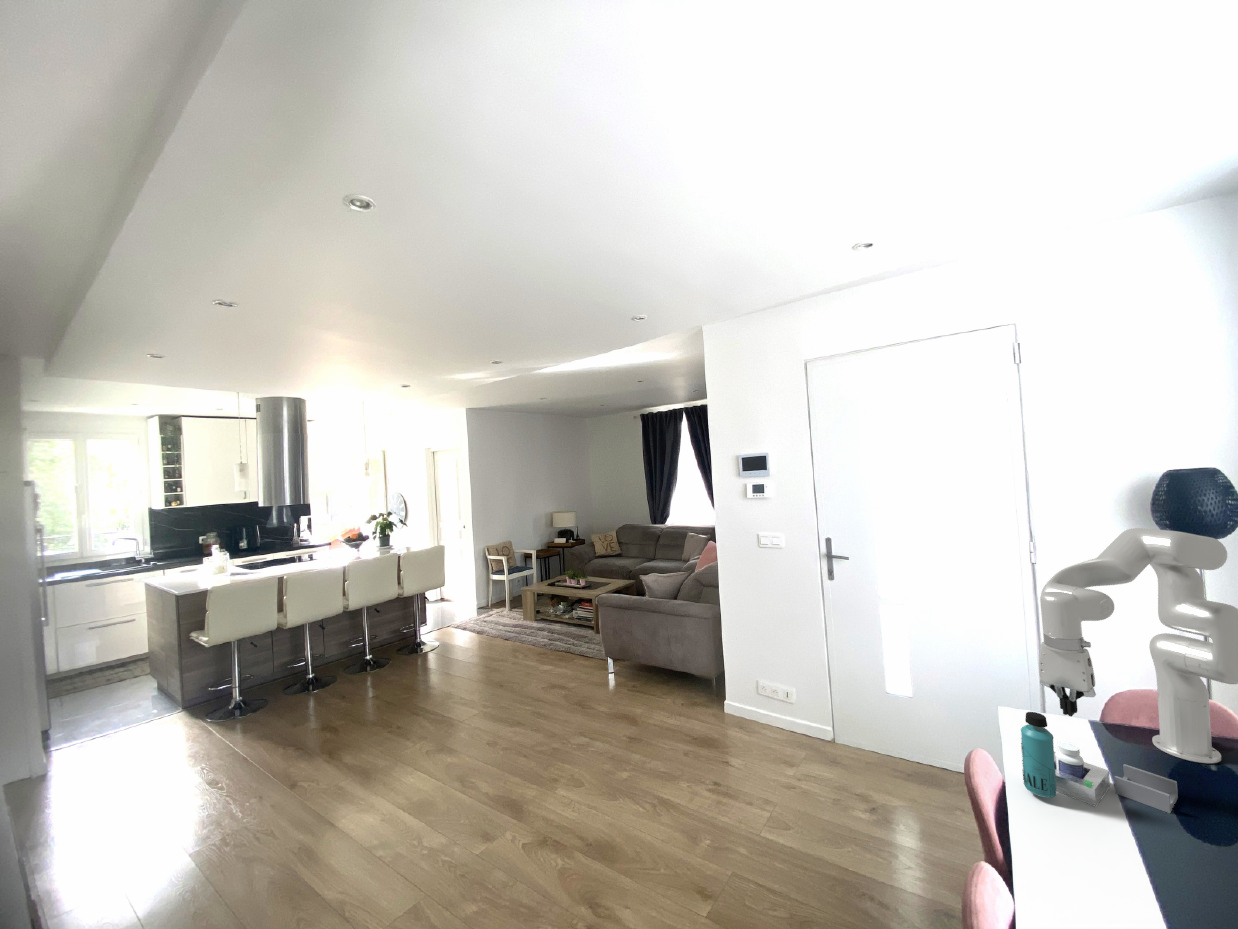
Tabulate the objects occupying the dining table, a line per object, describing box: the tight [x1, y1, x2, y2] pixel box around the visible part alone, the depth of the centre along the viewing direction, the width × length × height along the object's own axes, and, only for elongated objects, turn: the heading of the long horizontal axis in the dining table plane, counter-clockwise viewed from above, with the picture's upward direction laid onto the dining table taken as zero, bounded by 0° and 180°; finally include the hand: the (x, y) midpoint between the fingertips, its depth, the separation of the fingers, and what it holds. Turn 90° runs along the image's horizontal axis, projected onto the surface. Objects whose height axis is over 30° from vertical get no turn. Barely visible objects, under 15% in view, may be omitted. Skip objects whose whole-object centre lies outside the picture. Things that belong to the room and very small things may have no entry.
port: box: [1054, 751, 1111, 807], centre depth 127 cm, size 12×12×5 cm
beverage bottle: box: [1020, 711, 1057, 798], centre depth 123 cm, size 6×7×20 cm
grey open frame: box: [1114, 763, 1179, 814], centre depth 122 cm, size 9×9×4 cm
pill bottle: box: [1055, 741, 1085, 779], centre depth 127 cm, size 5×5×10 cm
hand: (1069, 713), depth 127 cm, fingers closed
